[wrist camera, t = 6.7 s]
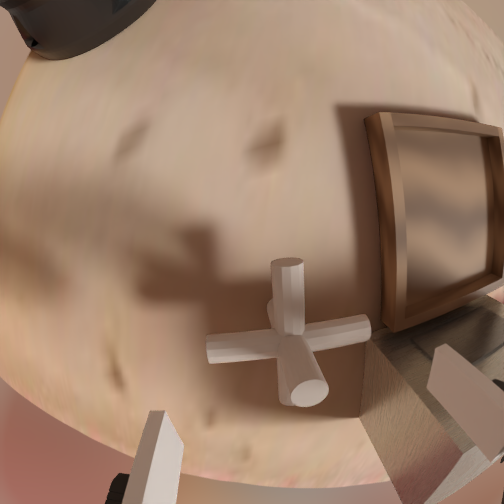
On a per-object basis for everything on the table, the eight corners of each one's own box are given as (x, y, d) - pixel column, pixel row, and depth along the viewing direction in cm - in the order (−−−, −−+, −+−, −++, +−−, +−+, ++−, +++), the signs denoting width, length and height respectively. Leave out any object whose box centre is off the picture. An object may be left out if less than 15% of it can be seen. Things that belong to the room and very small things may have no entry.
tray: (364, 119, 18) (379, 111, 16) (486, 129, 18) (501, 127, 16) (380, 320, 22) (393, 332, 19) (491, 278, 22) (505, 284, 20)
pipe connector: (204, 251, 19) (178, 310, 10) (338, 237, 20) (417, 278, 10) (222, 365, 22) (219, 459, 12) (336, 350, 22) (383, 429, 12)
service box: (366, 328, 22) (467, 448, 7) (479, 286, 22) (573, 339, 8) (358, 420, 25) (408, 519, 10) (460, 374, 25) (522, 436, 11)
